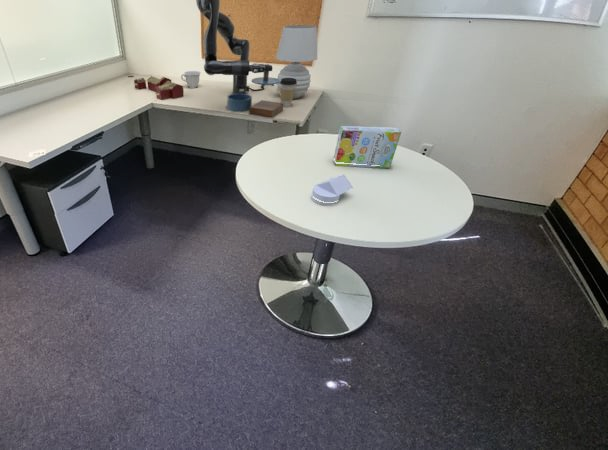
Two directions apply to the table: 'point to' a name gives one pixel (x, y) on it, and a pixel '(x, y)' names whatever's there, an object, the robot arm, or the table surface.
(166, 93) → the toy houses
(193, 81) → the teacup
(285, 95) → the coffee cup
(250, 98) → the bowl
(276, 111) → the board
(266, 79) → the lid
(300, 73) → the table lamp
